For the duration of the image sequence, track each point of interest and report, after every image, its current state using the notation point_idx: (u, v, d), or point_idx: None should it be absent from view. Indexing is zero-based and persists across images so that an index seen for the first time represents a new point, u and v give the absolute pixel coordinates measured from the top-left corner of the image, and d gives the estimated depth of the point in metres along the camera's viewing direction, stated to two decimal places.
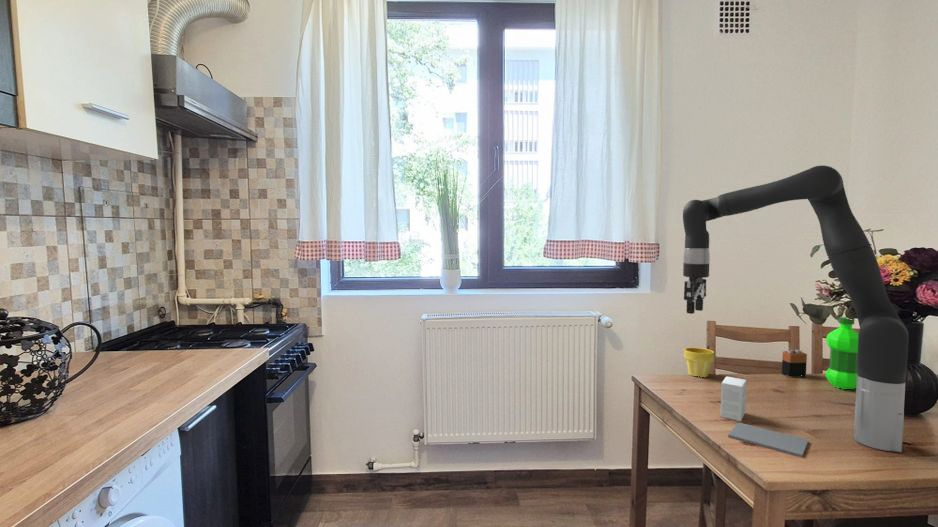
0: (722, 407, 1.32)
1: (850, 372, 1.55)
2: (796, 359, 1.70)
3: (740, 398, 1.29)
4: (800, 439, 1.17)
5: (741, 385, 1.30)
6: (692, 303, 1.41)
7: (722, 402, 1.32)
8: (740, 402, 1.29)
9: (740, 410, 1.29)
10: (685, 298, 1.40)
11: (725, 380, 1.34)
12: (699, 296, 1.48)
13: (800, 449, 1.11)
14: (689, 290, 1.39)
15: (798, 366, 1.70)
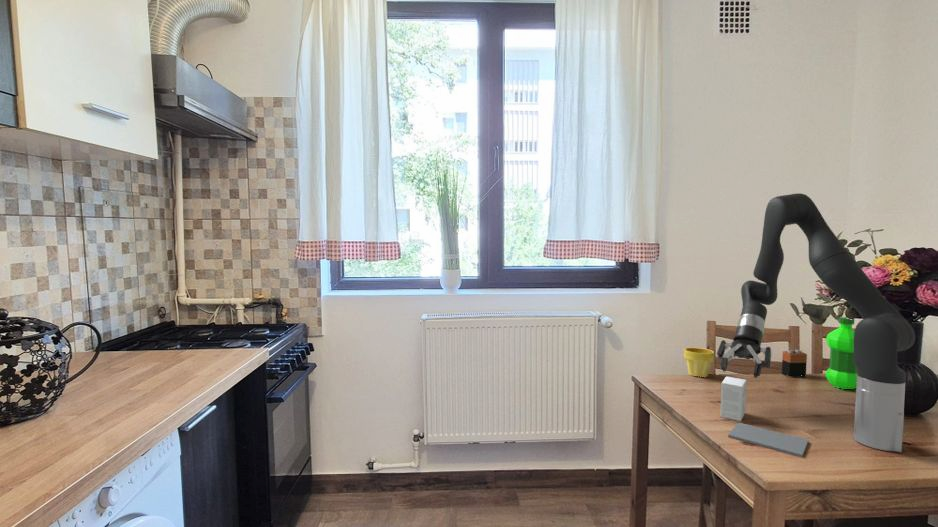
0: (722, 407, 1.32)
1: (850, 372, 1.55)
2: (796, 359, 1.70)
3: (740, 398, 1.29)
4: (800, 439, 1.17)
5: (741, 385, 1.30)
6: (723, 359, 1.43)
7: (722, 402, 1.32)
8: (740, 402, 1.29)
9: (740, 410, 1.29)
10: (718, 356, 1.46)
11: (725, 380, 1.34)
12: None
13: (800, 449, 1.11)
14: None
15: (798, 366, 1.70)
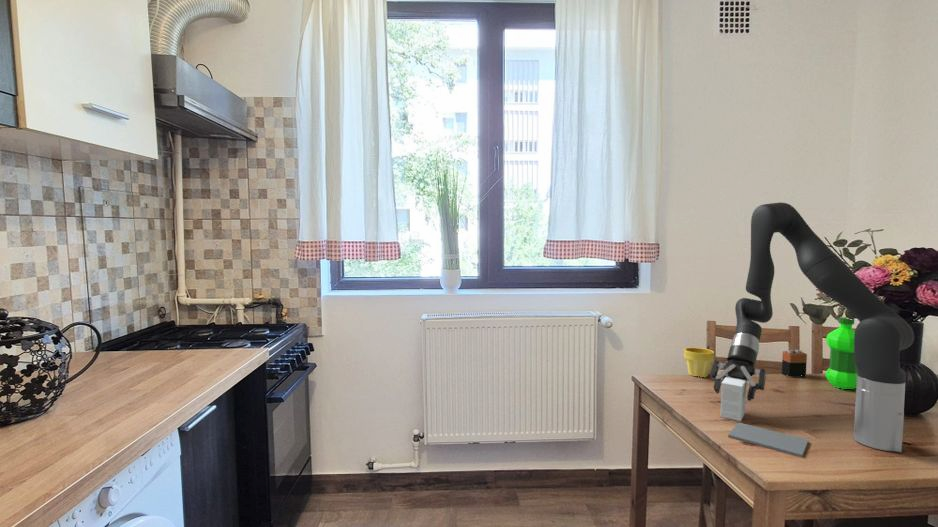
0: (722, 407, 1.32)
1: (850, 372, 1.55)
2: (796, 359, 1.70)
3: (740, 398, 1.29)
4: (800, 439, 1.17)
5: (741, 385, 1.30)
6: (716, 380, 1.38)
7: (722, 402, 1.32)
8: (740, 402, 1.29)
9: (740, 410, 1.29)
10: (711, 377, 1.41)
11: (725, 380, 1.34)
12: None
13: (800, 449, 1.11)
14: None
15: (798, 366, 1.70)
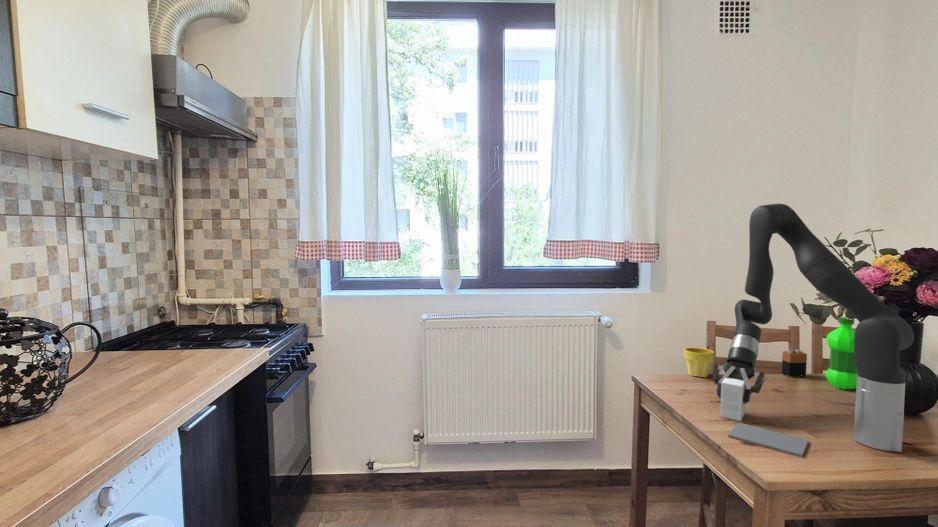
0: (722, 407, 1.32)
1: (850, 372, 1.55)
2: (796, 359, 1.70)
3: (740, 398, 1.29)
4: (800, 439, 1.17)
5: (741, 385, 1.30)
6: (719, 385, 1.36)
7: (722, 402, 1.32)
8: (740, 402, 1.29)
9: (740, 410, 1.29)
10: None
11: (725, 380, 1.34)
12: None
13: (800, 449, 1.11)
14: None
15: (798, 366, 1.70)
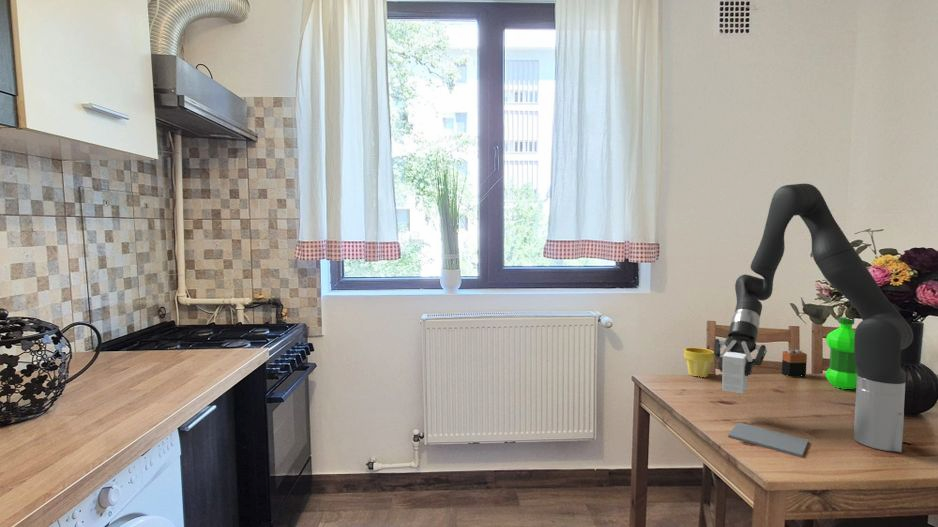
0: (724, 380, 1.32)
1: (850, 372, 1.55)
2: (796, 359, 1.70)
3: (741, 370, 1.29)
4: (800, 439, 1.17)
5: (742, 357, 1.30)
6: (720, 359, 1.36)
7: (724, 375, 1.32)
8: (742, 374, 1.29)
9: (742, 382, 1.29)
10: (715, 356, 1.39)
11: (726, 353, 1.34)
12: None
13: (800, 449, 1.11)
14: None
15: (798, 366, 1.70)
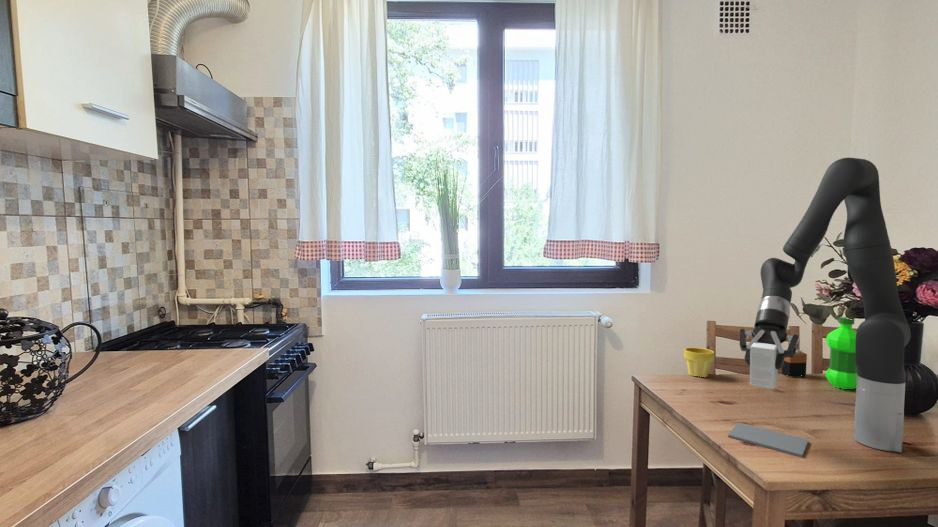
0: (752, 374, 1.19)
1: (850, 372, 1.55)
2: (796, 359, 1.70)
3: (772, 363, 1.15)
4: (800, 439, 1.17)
5: (773, 348, 1.16)
6: (747, 351, 1.23)
7: (751, 368, 1.18)
8: (772, 367, 1.15)
9: (772, 376, 1.16)
10: (741, 348, 1.26)
11: (754, 344, 1.20)
12: None
13: (800, 449, 1.11)
14: (740, 338, 1.27)
15: (798, 366, 1.70)
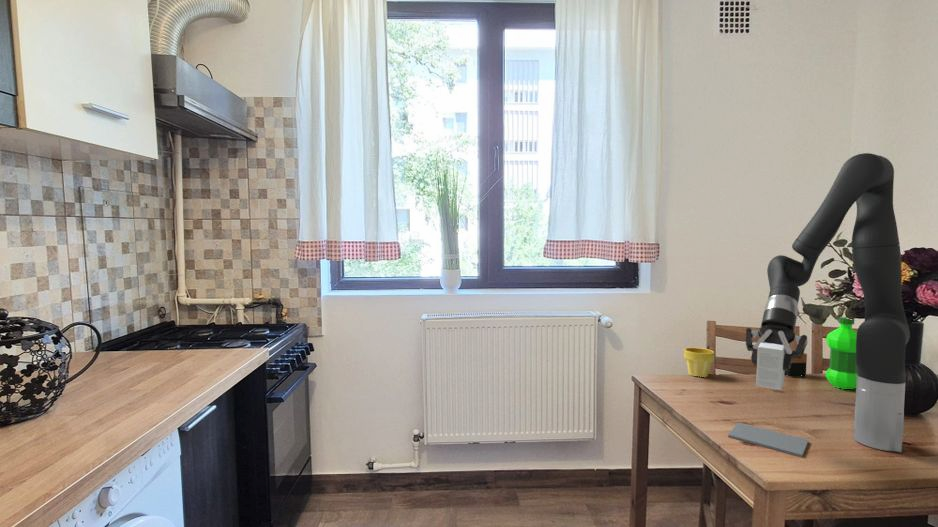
0: (758, 375, 1.15)
1: (850, 372, 1.55)
2: (796, 359, 1.70)
3: (780, 363, 1.12)
4: (800, 439, 1.17)
5: (781, 349, 1.13)
6: (754, 351, 1.19)
7: (758, 369, 1.15)
8: (780, 368, 1.12)
9: (780, 377, 1.12)
10: (747, 348, 1.22)
11: (761, 344, 1.17)
12: None
13: (800, 449, 1.11)
14: (746, 338, 1.23)
15: (798, 366, 1.70)
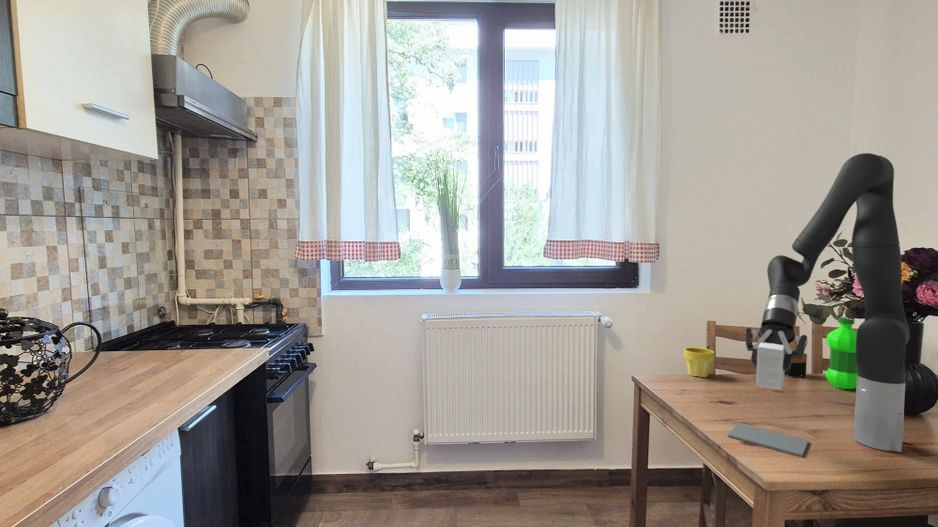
0: (758, 375, 1.15)
1: (850, 372, 1.55)
2: (796, 359, 1.70)
3: (780, 363, 1.12)
4: (800, 439, 1.17)
5: (781, 349, 1.13)
6: (754, 351, 1.19)
7: (758, 369, 1.15)
8: (780, 368, 1.12)
9: (780, 377, 1.12)
10: (747, 348, 1.22)
11: (761, 344, 1.17)
12: None
13: (800, 449, 1.11)
14: (746, 338, 1.23)
15: (798, 366, 1.70)
